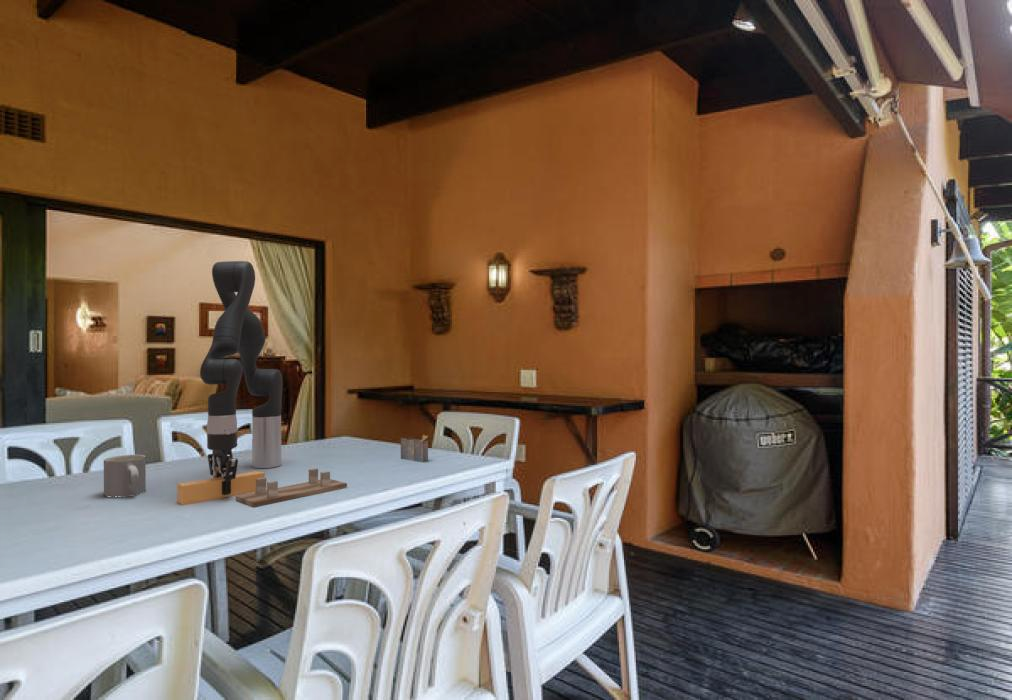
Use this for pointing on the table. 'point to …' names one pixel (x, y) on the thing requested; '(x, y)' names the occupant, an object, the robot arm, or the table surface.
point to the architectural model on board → (414, 449)
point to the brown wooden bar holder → (290, 489)
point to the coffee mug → (124, 475)
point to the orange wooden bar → (216, 488)
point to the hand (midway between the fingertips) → (222, 492)
